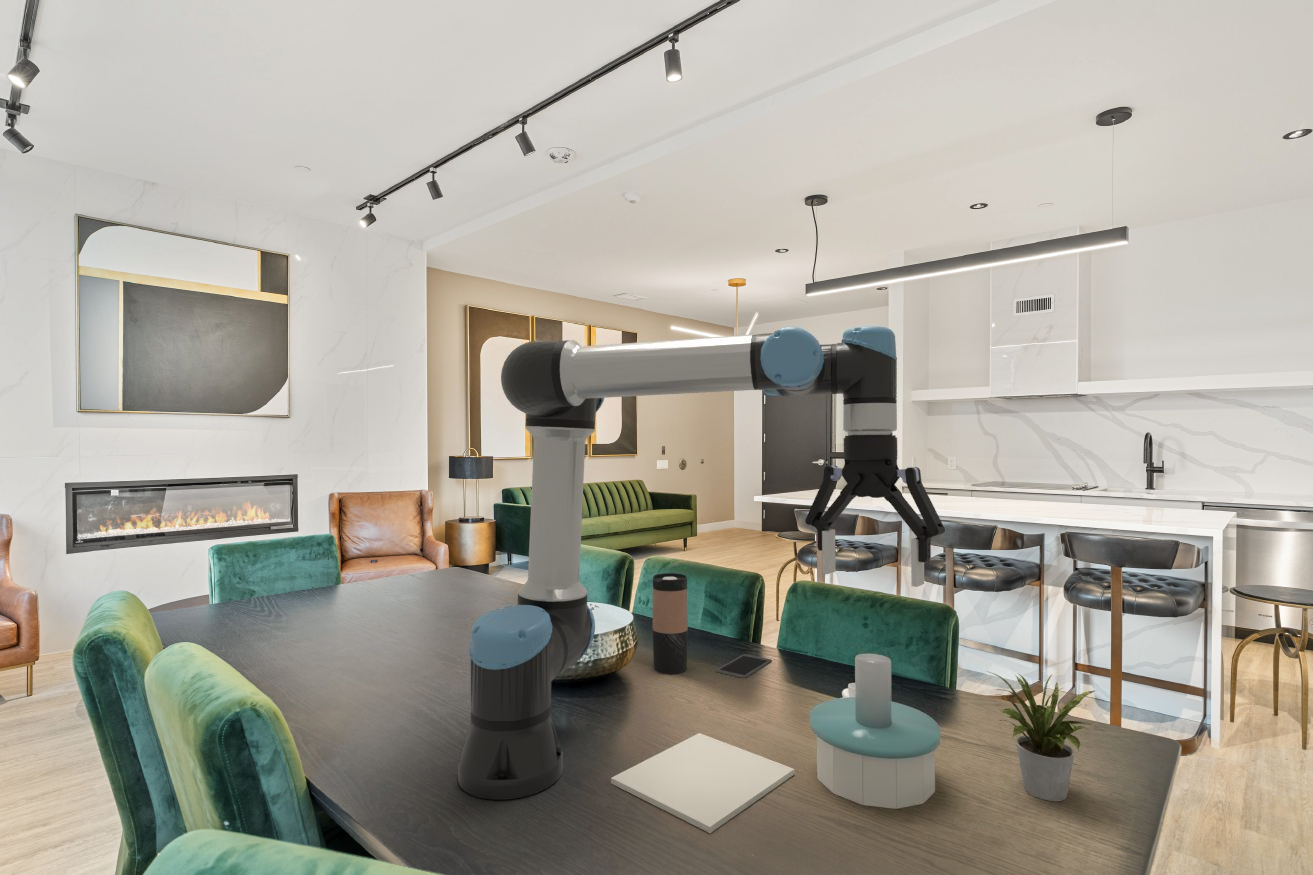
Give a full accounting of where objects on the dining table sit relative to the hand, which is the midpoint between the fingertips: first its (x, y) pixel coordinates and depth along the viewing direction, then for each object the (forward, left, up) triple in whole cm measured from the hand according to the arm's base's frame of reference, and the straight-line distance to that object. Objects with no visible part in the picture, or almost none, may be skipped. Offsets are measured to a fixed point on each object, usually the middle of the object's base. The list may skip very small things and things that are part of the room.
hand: (871, 578), depth 97 cm
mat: (-17, +18, -29) cm, 38 cm away
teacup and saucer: (+26, +13, -29) cm, 41 cm away
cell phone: (+27, +42, -29) cm, 58 cm away
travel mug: (+15, +53, -29) cm, 62 cm away
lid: (0, 0, -22) cm, 22 cm away
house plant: (+12, -18, -29) cm, 36 cm away
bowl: (0, 0, -29) cm, 29 cm away
